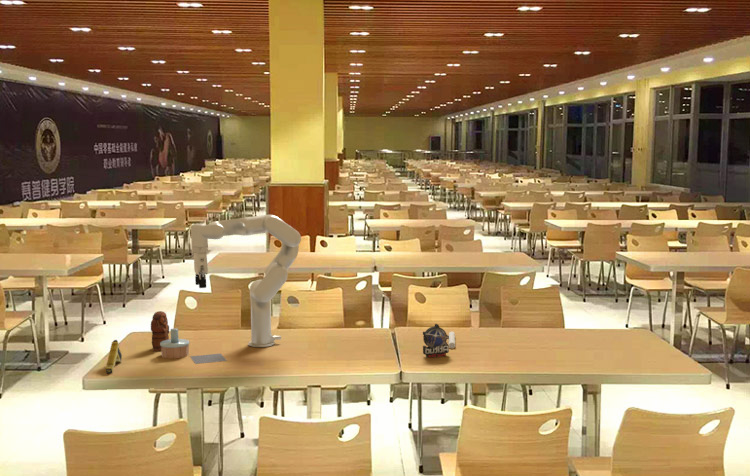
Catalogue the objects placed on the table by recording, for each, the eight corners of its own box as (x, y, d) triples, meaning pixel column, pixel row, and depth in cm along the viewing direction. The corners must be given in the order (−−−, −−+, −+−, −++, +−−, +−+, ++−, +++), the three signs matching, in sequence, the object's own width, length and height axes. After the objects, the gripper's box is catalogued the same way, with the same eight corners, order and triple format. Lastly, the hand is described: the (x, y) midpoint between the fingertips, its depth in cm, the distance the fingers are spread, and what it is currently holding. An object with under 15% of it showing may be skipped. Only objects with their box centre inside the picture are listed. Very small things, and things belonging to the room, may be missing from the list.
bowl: (186, 351, 389) (185, 340, 388) (190, 357, 378) (190, 345, 377) (160, 354, 384) (159, 342, 384) (163, 360, 373) (163, 348, 373)
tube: (448, 336, 418) (448, 348, 393) (448, 330, 417) (448, 342, 392) (454, 337, 417) (455, 349, 393) (454, 331, 417) (455, 342, 392)
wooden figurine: (163, 351, 389) (162, 314, 387) (150, 351, 390) (149, 313, 388) (172, 345, 401) (170, 309, 399) (159, 345, 401) (157, 308, 399)
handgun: (122, 356, 373) (118, 336, 365) (115, 387, 358) (111, 368, 350) (116, 356, 372) (112, 337, 365) (109, 388, 357) (105, 368, 350)
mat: (220, 354, 384) (220, 353, 384) (226, 361, 371) (226, 360, 371) (190, 357, 379) (190, 356, 379) (195, 364, 366) (195, 363, 366)
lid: (186, 339, 389) (186, 325, 388) (191, 346, 377) (191, 330, 376) (158, 342, 384) (158, 327, 383) (162, 348, 372) (161, 333, 371)
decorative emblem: (446, 354, 381) (446, 322, 379) (448, 355, 379) (448, 323, 377) (422, 356, 377) (422, 324, 376) (424, 358, 375) (424, 325, 373)
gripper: (211, 251, 382) (212, 288, 384) (204, 247, 398) (205, 282, 400) (194, 252, 379) (195, 289, 381) (188, 248, 395) (189, 283, 397)
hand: (200, 286), depth 390 cm, fingers open, 9 cm apart
